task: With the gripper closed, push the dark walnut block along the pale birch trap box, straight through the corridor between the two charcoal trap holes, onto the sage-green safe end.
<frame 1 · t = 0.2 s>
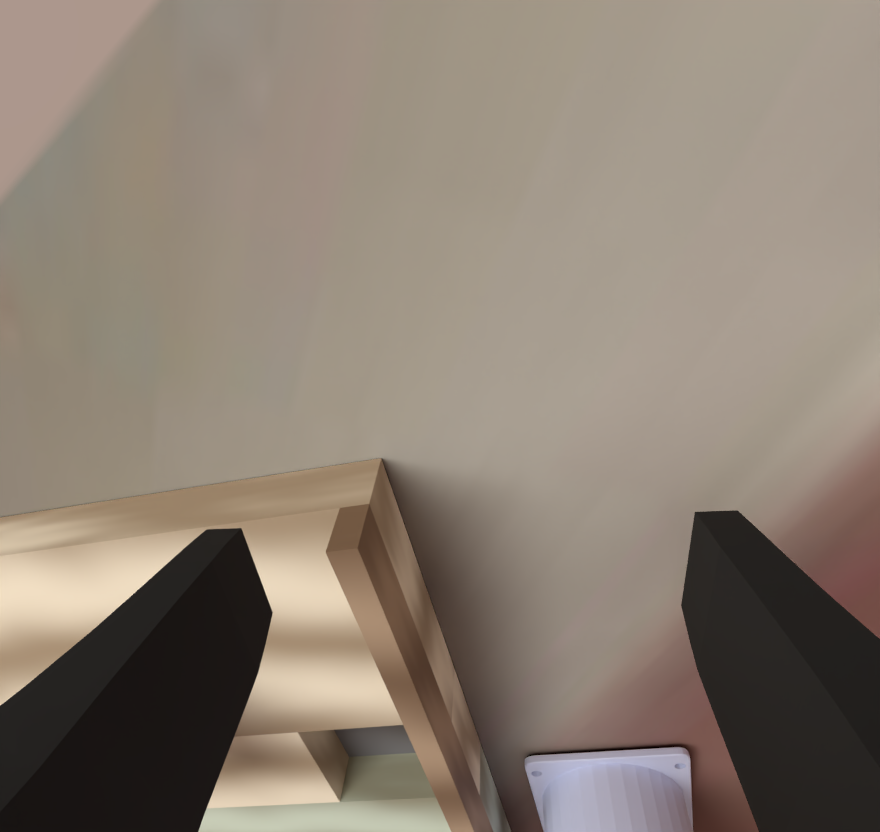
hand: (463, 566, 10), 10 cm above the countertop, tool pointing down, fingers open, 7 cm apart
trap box: (237, 719, 31), on the countertop
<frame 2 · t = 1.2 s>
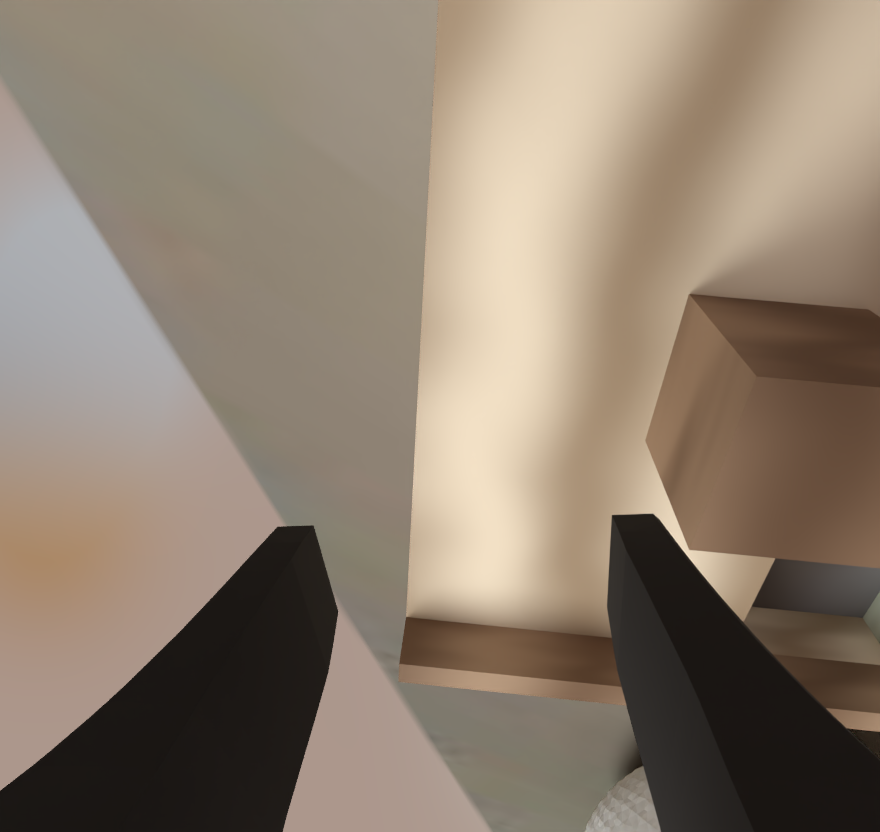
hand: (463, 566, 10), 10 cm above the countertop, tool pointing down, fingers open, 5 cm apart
walnut block: (748, 380, 16), point 2 cm above the countertop, touching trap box
cereal bowl: (727, 773, 31), on the countertop
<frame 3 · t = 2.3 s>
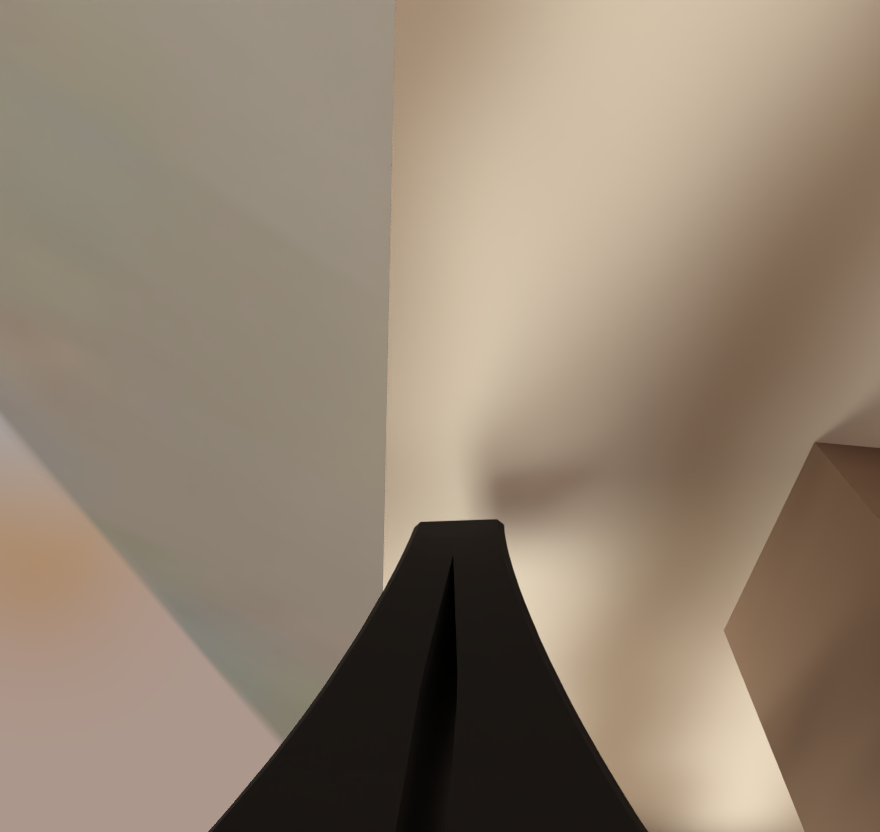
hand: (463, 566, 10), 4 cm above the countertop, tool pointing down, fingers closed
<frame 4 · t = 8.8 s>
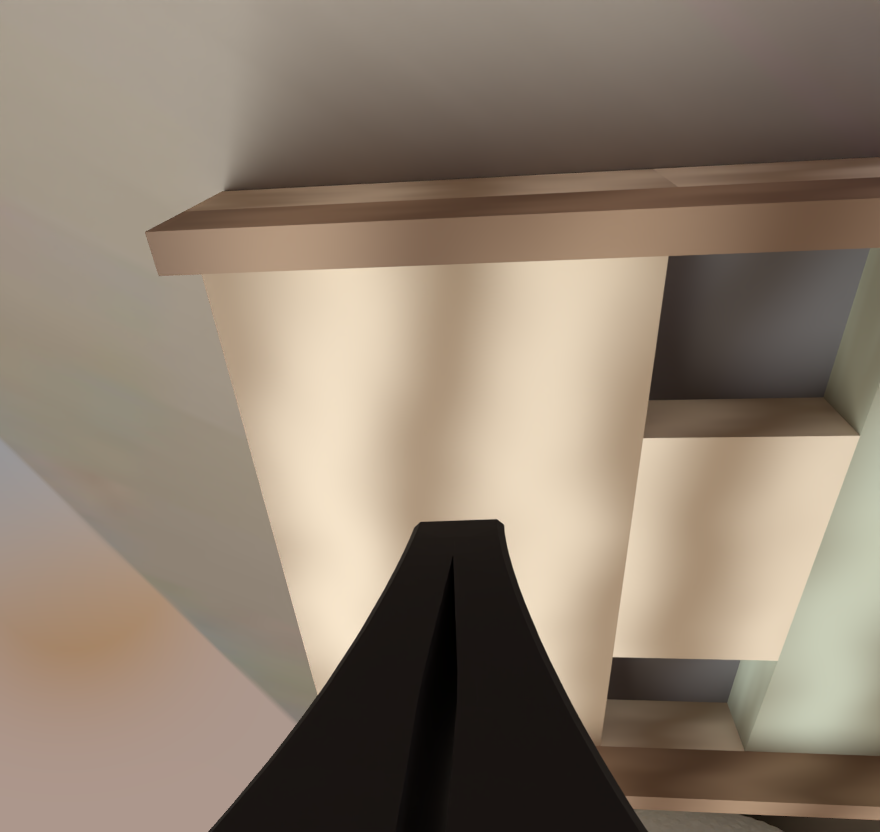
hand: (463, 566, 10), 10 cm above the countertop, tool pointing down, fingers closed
cereal bowl: (663, 828, 34), on the countertop
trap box: (682, 512, 22), on the countertop
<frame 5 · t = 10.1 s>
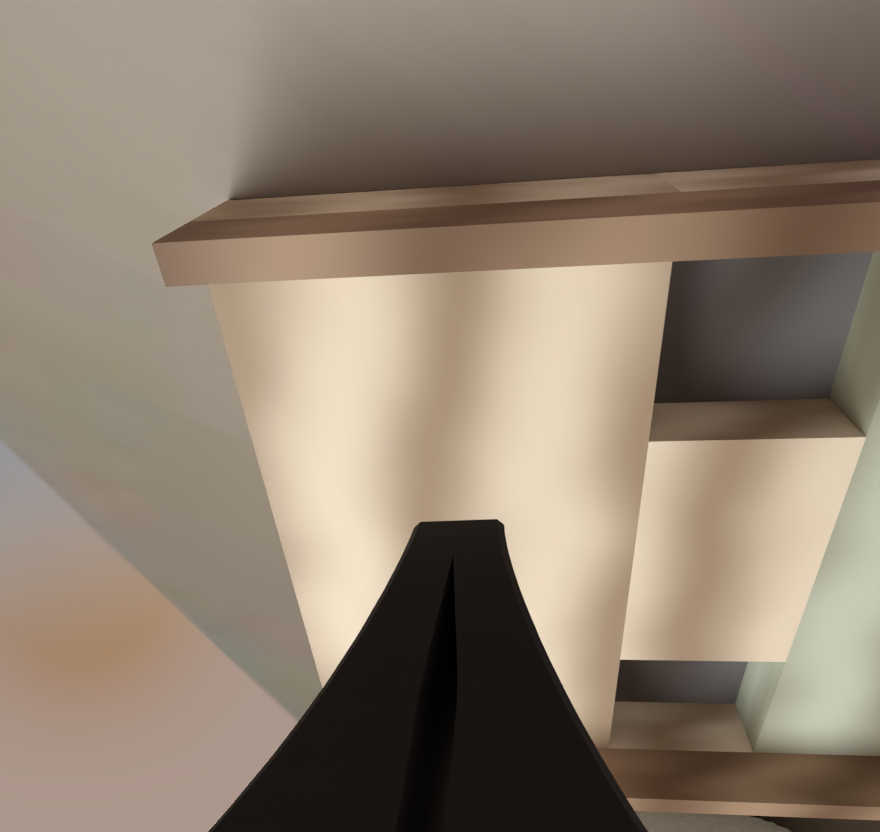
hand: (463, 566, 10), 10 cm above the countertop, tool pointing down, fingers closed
cereal bowl: (671, 829, 34), on the countertop
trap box: (688, 514, 22), on the countertop
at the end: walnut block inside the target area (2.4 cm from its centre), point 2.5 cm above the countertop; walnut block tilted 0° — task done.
